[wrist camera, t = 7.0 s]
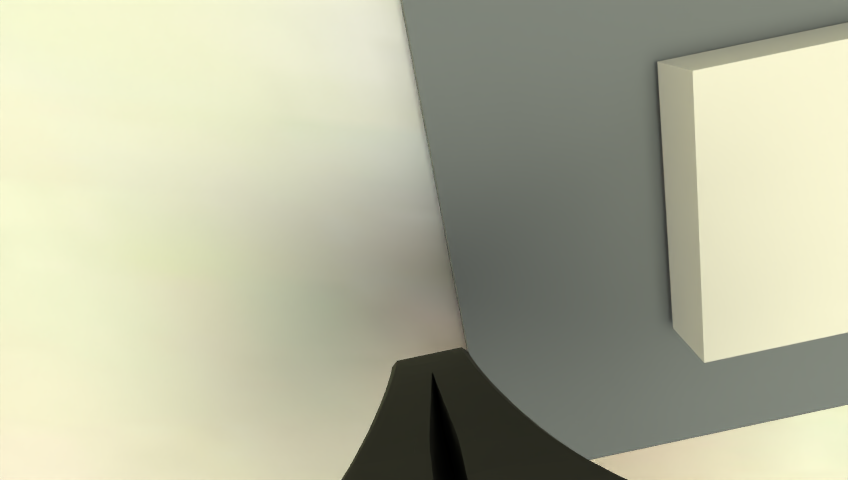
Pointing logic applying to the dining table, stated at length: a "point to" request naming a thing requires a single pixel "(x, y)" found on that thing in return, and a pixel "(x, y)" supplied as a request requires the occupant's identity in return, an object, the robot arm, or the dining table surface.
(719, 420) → the tile mat
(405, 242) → the dining table surface
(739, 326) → the tile
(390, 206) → the dining table surface
